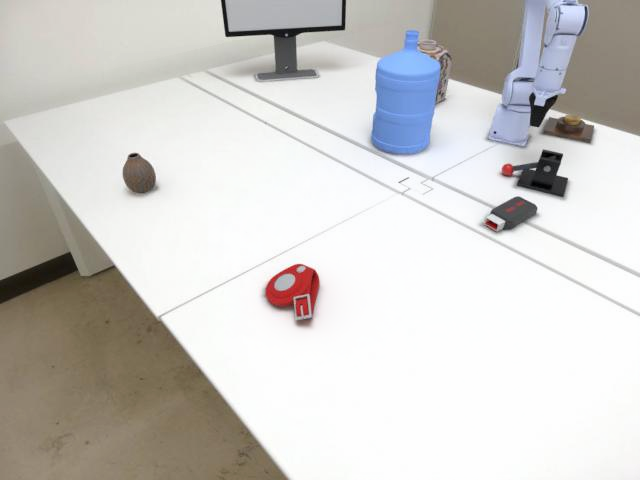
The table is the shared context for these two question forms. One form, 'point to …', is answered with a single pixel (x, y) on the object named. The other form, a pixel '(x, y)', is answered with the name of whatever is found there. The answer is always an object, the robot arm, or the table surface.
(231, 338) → the table surface
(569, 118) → the button
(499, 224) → the usb drive
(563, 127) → the button block
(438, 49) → the decorative jar
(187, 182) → the table surface
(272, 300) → the tracker holder
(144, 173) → the vase
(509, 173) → the lever
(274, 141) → the table surface
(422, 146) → the water jug
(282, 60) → the computer monitor
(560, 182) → the bracket
